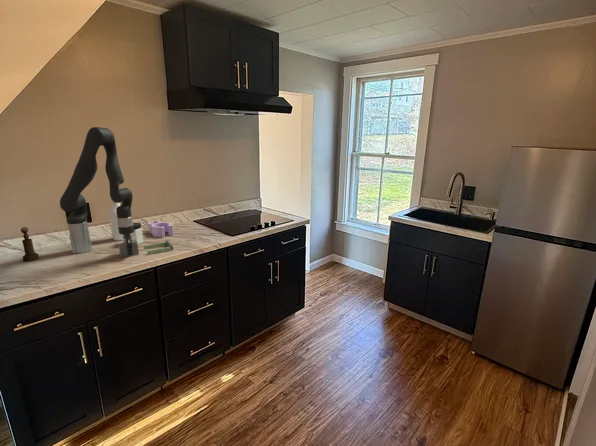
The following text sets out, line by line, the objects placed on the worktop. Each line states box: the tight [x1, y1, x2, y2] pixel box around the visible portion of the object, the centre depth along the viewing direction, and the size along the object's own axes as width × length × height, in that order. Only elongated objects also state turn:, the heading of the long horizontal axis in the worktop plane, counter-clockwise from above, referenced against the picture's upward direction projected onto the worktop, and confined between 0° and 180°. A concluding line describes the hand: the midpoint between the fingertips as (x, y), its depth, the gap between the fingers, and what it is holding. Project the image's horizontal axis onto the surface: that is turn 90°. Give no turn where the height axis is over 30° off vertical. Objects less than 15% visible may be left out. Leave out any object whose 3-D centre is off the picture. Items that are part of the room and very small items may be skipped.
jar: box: [130, 222, 144, 245], centre depth 196 cm, size 9×8×12 cm
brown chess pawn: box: [20, 226, 40, 262], centre depth 167 cm, size 7×6×18 cm
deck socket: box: [143, 239, 174, 255], centre depth 186 cm, size 14×11×3 cm
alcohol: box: [108, 198, 124, 242], centre depth 200 cm, size 9×9×30 cm
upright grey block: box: [118, 239, 140, 258], centre depth 177 cm, size 9×5×8 cm, turn 125°
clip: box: [147, 220, 174, 239], centre depth 215 cm, size 20×12×7 cm, turn 54°
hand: (129, 253), depth 178 cm, fingers closed on upright grey block, 5 cm apart
